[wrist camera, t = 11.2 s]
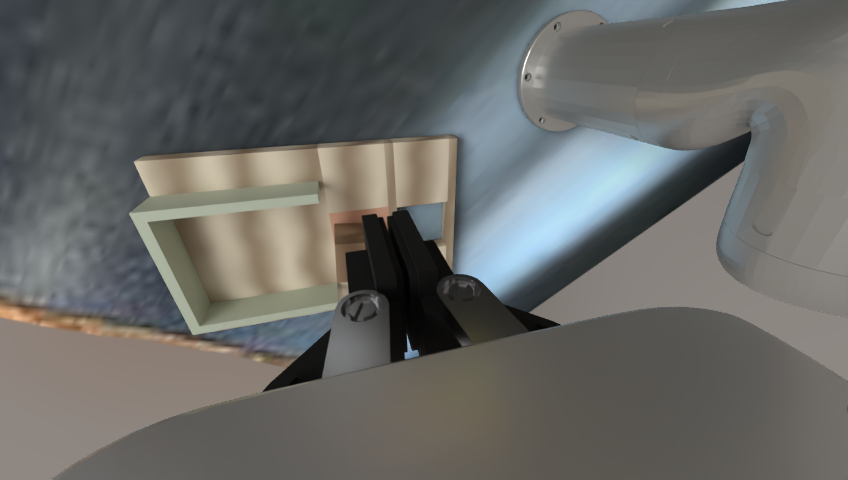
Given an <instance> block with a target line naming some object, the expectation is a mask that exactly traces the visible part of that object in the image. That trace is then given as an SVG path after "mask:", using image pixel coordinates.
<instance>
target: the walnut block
mask: <svg viewBox="0 0 848 480" xmlns="http://www.w3.org/2000/svg"><path fill="white" fill-rule="evenodd" d="M334 236H335V257H336V276H337V283H342V282H348V279H347V268H346V257H345V252H352V251H359V250H366V249H365V241H364V232H363V224H362V223H340V224H334Z"/></svg>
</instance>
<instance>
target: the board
mask: <svg viewBox="0 0 848 480" xmlns="http://www.w3.org/2000/svg"><path fill="white" fill-rule="evenodd" d="M456 162H457V138H456V137H455V136H453V135H439V136H425V137H410V138H396V139H382V140H367V141H353V142H339V143H324V144H310V145H295V146H281V147H267V148H252V149H238V150H224V151H209V152H195V153H181V154H166V155H152V156H143V157H141V158H139V159H138V160H136V161H134V164H135V166H136V168H137V170H138V172H139V174H140V176H141V178H142V180H143V183H144V185H145V187H146V189H147V191H148V193H149V195H150V197H152V196H163V195H173V194H184V193H195V192H205V191H216V190H227V189H237V188H248V187H259V186H269V185H280V184H291V183H301V182H312V181H318V182H319V187H320V197H319V203H318V204H309V205H300V206H290V207H281V208H272V209H263V210H254V211H244V212H235V213H226V214H217V215H207V216H198V217H189V218H180V219H173V221H174V224H175V226H176V228H177V230H178V232H179V235H180V237H181V239H182V241H183V243H184V246H185V248H186V250H187V252H188V254H189V257H190V259H191V261H192V263H193V265H194V268H195V270H196V272H197V274H198V276H199V279H200V281H201V283H202V285H203V287H204V290H205V292H206V294H207V296H208V298H209V301H210V303H216V302H222V301H228V300H234V299H240V298H246V297H253V296H259V295H265V294H271V293H277V292H283V291H290V290H296V289H302V288H308V287H314V286H320V285H327V284H333V283H337V276H336V257H335V236H334V224H340V223H362V215H369V214H377V216H378V217H383V218H384V221H385V224H386V227H387V230H388V225H387V216H392V212H394V211H397V207H405V206H414V205H422V204H431V203H440V202H443V203H442V239H435V240H434V241H435V243H436V244H437V246H438V248H439V250H440V251H441V253H442V255H443V256H444V258H445V260H446V262H447V263H448V265H449V267H450V268H451V270H452V261H453V236H454V211H455V187H456ZM428 241H429V240H428ZM337 284H338V292H339V301H340V300H341V299H342V298H343V297H345V296H346V295H348V294H349V290H348V282H342V283H337ZM329 311H332V310H329ZM324 312H326V311H324ZM318 313H321V312H318ZM312 314H315V313H312ZM307 315H309V314H307ZM301 316H304V315H301ZM296 317H298V316H296ZM290 318H293V317H290ZM284 319H287V318H284ZM279 320H282V319H279ZM273 321H276V320H273ZM268 322H270V321H268ZM262 323H265V322H262ZM257 324H259V323H257ZM251 325H254V324H251ZM245 326H248V325H245ZM240 327H243V326H240ZM234 328H237V327H234ZM229 329H232V328H229ZM223 330H226V329H223ZM218 331H220V330H218ZM214 332H215V331H214Z"/></svg>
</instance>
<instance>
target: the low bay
mask: <svg viewBox="0 0 848 480" xmlns="http://www.w3.org/2000/svg"><path fill="white" fill-rule="evenodd" d="M319 197H320V187H319V182H318V181H312V182H301V183H291V184H280V185H269V186H259V187H248V188H237V189H227V190H216V191H205V192H195V193H184V194H173V195H163V196H152V197H149V198H148V199H147V200H145V201H144V202H143V203H142V204H140V205H139V206H138V207H136V208H135V209H134V210H133V211H131V212H130V213H129V214H130V216H131V218H132V220H133V222H134V224H135V226H136V228H137V229H138V231H139V233H140V235H141V237H142V239H143V241H144V243H145V245H146V247H147V249H148V250H149V252H150V254H151V256H152V258H153V260H154V262H155V264H156V266H157V268H158V269H159V271H160V273H161V275H162V277H163V279H164V281H165V283H166V285H167V287H168V288H169V290H170V292H171V294H172V296H173V298H174V300H175V302H176V304H177V306H178V308H179V309H180V311H181V313H182V315H183V317H184V319H185V321H186V323H187V325H188V327H189V328H190V330H191V332H192V334H193V335H195V334H201V333H206V332H212V331H218V330H223V329H229V328H234V327H240V326H245V325H251V324H257V323H262V322H268V321H273V320H279V319H284V318H290V317H296V316H301V315H307V314H312V313H318V312H324V311H329V310H335V308H336V306H337V303H338V302H339V292H338V284H337V283H333V284H327V285H320V286H314V287H308V288H302V289H296V290H290V291H283V292H277V293H271V294H265V295H259V296H253V297H246V298H240V299H234V300H228V301H222V302H216V303H210V301H209V298H208V296H207V294H206V292H205V290H204V287H203V285H202V283H201V281H200V279H199V276H198V274H197V272H196V270H195V268H194V265H193V263H192V261H191V259H190V257H189V254H188V252H187V250H186V248H185V246H184V243H183V241H182V239H181V237H180V235H179V232H178V230H177V228H176V226H175V224H174V221H173V219H180V218H189V217H198V216H207V215H217V214H226V213H235V212H244V211H254V210H263V209H272V208H281V207H290V206H300V205H309V204H318V203H319Z"/></svg>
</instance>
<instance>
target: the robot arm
mask: <svg viewBox="0 0 848 480" xmlns="http://www.w3.org/2000/svg"><path fill="white" fill-rule="evenodd" d="M525 75H526V77H525ZM524 77H525V78H524ZM517 92H518V98H519V103H520V106H521V108H522V111H523V112H524V114H525V116H526V117H527V119H528V120H529V121H530V122H531V123H532V124H534V125H536V126H537V127H539V128H542V129H545V130H548V131H554V132H556V131H565V130H568V129H572V128H574V127H576V126H578V125H581V126H585V127H589V128H593V129H596V130H600V131H604V132H607V133H611V134H615V135H619V136H622V137H626V138H630V139H634V140H637V141H641V142H645V143H648V144H652V145H656V146H660V147H664V148H668V149H674V150H696V149H703V148H707V147H711V146H714V145H718V144H720V143H723V142H726V141H728V140H731V139H734V138H736V137H738V136H740V135H743V134H745V133H747V132H749V131H751V133H752V137H751V142H750V145H749V149H748V152H747V154H746V157H745V163H744V166H743V168H742V171H741V173H740V176H739V178H738V181H737V184H736V186H735V189H734V191H733V194H732V196H731V199H730V202H729V204H728V207H727V209H726V212H725V215H724V218H723V221H722V223H721V226H720V230H719V233H718V237H717V243H716V250H717V256H718V259H719V261H720V263H721V265H722V266H723V268H724V269H725V270H726V271H727V272H728V273H729V274H730V275H731V276H732V277H733V278H734V279H736V280H737V281H738V282H740V283H741V284H743V285H745V286H747V287H748V288H750V289H752V290H754V291H756V292H759V293H761V294H763V295H765V296H768V297H771V298H773V299H776V300H779V301H782V302H784V303H788V304H791V305H794V306H799V307H802V308H806V309H809V310H813V311H817V312H821V313H826V314H830V315H835V316H840V317H845V318H848V0H786V1H780V2H774V3H767V4H761V5H755V6H748V7H742V8H734V9H725V10H717V11H709V12H703V13H695V14H687V15H678V16H670V17H661V18H653V19H644V20H636V21H628V22H619V23H611V24H608V23H607V21H605V20H604V19H603V18H602V17H601V16H600V15H598V14H596V13H594V12H592V11H586V10H577V11H571V12H567V13H563V14H561V15H559V16H557V17H555V18H553V19H552V20H550V21H549V22H548V23H546V24H545V25H544V26H543V27H542V28H541V29H540V30H539V31H538V32H537V33H536V34H535V36H534V37H533V39H532V40H531V42H530V43H529V45H528V47H527V49H526V51H525V53H524V55H523V58H522V61H521V64H520V67H519V73H518V79H517ZM362 224H363V232H364V241H365V249H366V250H359V251H352V252H345V257H346V268H347V279H348V290H349V294H348V295H346V296H345V297H343V298H342V299H341V300H340V301H339V302H338V303H337V306H336V308H335V313H334V318H333V323H332V328H331V329H330V330H329V331H328V332H327V333H326V334H324V335H323V336H322V337H321V338H320V339H319V340H318V341H317V342H316V343H314V344H313V345H312V346H311V347H310V348H309V349H308V350H307V351H305V352H304V353H303V354H302V355H301V356H300V357H299V358H298V359H297V360H295V361H294V362H293V363H292V364H291V365H290V366H289V367H288V368H286V369H285V370H284V371H283V372H282V373H281V374H280V375H279V376H278V377H276V378H275V379H274V380H273V381H272V382H271V383H270V384H269V385H268V386H267V387H266V388H265V389H264V390H263V392H261V393H256V394H252V395H249V396H245V397H241V398H237V399H234V400H229V401H226V402H222V403H218V404H214V405H210V406H206V407H203V408H199V409H196V410H192V411H189V412H186V413H183V414H180V415H177V416H174V417H171V418H168V419H165V420H162V421H160V422H157V423H155V424H152V425H150V426H148V427H145V428H143V429H140V430H138V431H135V432H133V433H130V434H129V435H127V436H124V437H122V438H120V439H118V440H116V441H114V442H112V443H111V444H109V445H107V446H105V447H103V448H101V449H99V450H97V451H95V452H93V453H91V454H89V455H88V456H86V457H84V458H82V459H81V460H79V461H77V462H76V463H74V464H72V465H71V466H69V467H68V468H66V469H65V470H63V471H62V472H60V473H59V474H57V475H55V476H54V477H52V478H51V479H50V480H848V381H847V380H845V379H844V378H842V377H840V376H839V375H837V374H836V373H834V372H833V371H831V370H829V369H828V368H826V367H825V366H823V365H821V364H820V363H818V362H817V361H815V360H813V359H812V358H810V357H809V356H807V355H805V354H804V353H802V352H800V351H799V350H797V349H795V348H794V347H792V346H790V345H789V344H787V343H785V342H783V341H782V340H780V339H779V338H777V337H775V336H773V335H772V334H769V333H768V332H766V331H764V330H762V329H761V328H759V327H757V326H755V325H753V324H751V323H749V322H747V321H745V320H743V319H741V318H739V317H736V316H734V315H731V314H727V313H723V312H718V311H713V310H708V309H700V308H689V307H657V308H647V309H639V310H634V311H629V312H623V313H618V314H612V315H606V316H602V317H597V318H592V319H588V320H583V321H578V322H574V323H569V324H564V325H560V324H558V323H556V322H553V321H551V320H548V319H545V318H542V317H539V316H536V315H533V314H530V313H527V312H524V311H521V310H519V309H516V308H513V307H510V306H507V305H504V304H502V303H501V302H500V300H499V299H498V298H497V297H496V296H495V295H494V294H493V293H492V292H491V291H490V290H489V289H488V288H487V287H486V286H485V285H484V284H483V283H482V282H481V281H480V280H478V279H477V278H474V277H472V276H469V275H464V274H455V275H454V274H453V272H452V270H451V268H450V267H449V265H448V263H447V262H446V260H445V258H444V256H443V255H442V253H441V251H440V250H439V248H438V246H437V244H436V243H435V241H434V240H429V241H423V239H422V237H421V236H420V234H419V232H418V230H417V228H416V226H415V224H414V222H413V220H412V218H411V216H410V214H409V213H408V211H407V210H403V211H394V212H392V216H387V225H388V230H387V227H386V224H385V221H384V218H383V217H378V216H377V214H369V215H362ZM407 335H408V339H409V342H410V346H411V349H412V351H414V350H418V352H419V357H414V358H410V359H405V354H404V352H407Z"/></svg>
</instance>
